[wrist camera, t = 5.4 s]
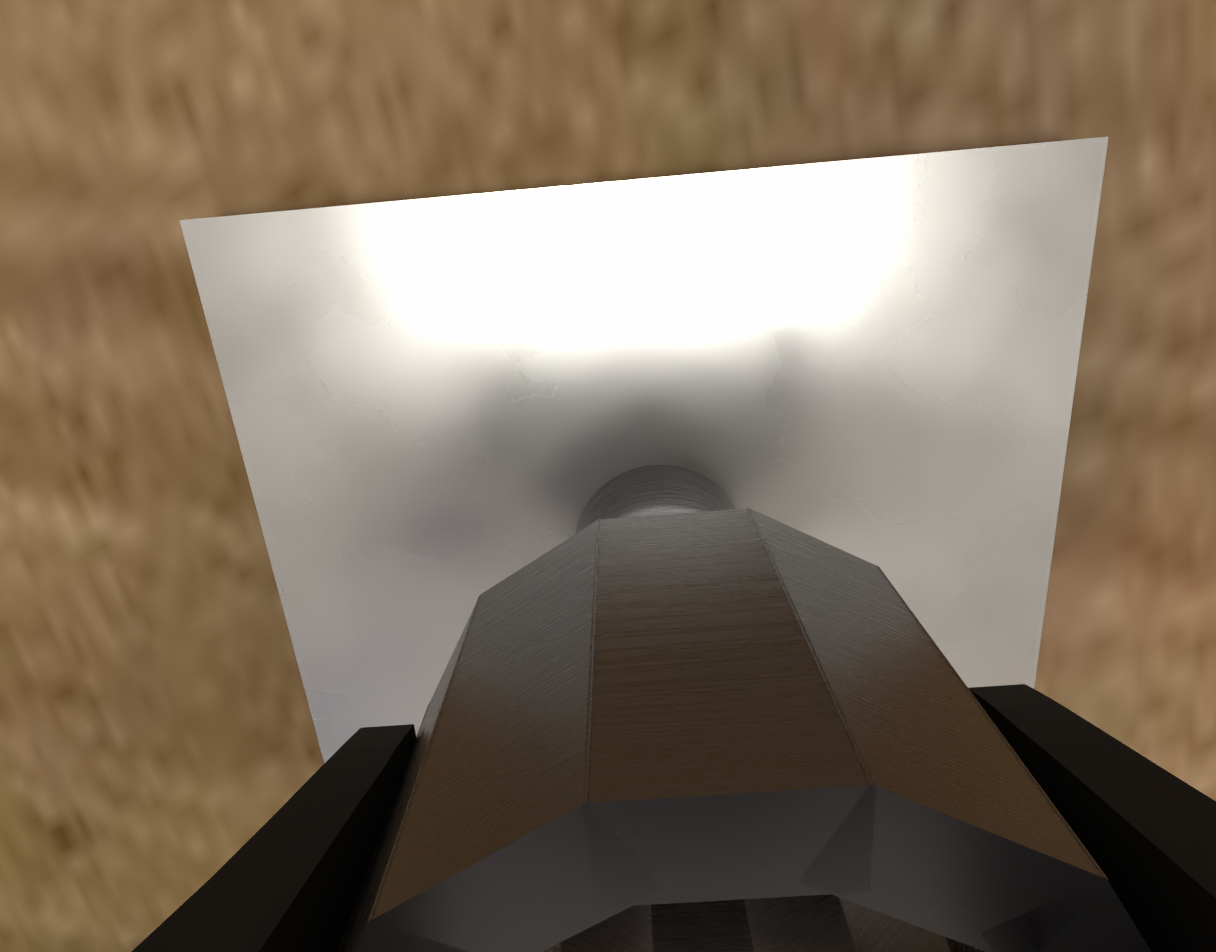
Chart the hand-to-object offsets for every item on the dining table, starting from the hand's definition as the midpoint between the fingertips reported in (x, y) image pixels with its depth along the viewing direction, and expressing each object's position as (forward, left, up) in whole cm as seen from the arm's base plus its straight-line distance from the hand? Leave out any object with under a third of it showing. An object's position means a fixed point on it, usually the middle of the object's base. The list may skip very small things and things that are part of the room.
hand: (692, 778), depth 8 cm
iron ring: (0, 0, -1) cm, 1 cm away
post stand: (0, -4, -7) cm, 8 cm away
